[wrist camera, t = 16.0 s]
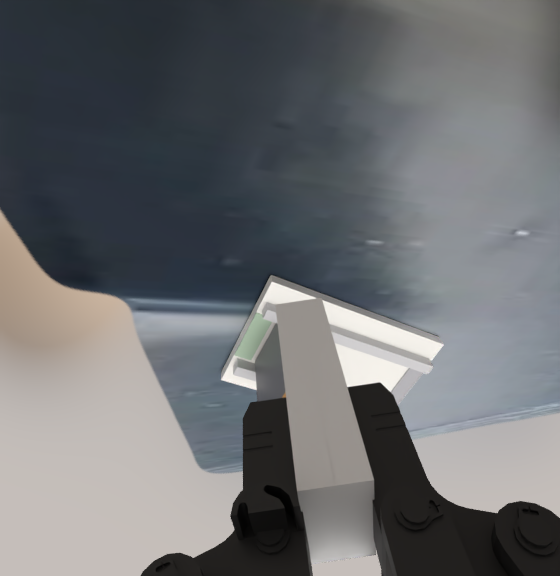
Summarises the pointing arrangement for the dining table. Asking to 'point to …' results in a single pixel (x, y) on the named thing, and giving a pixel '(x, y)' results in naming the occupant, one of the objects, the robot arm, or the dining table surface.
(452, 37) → the dining table surface
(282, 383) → the handle
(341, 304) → the railed base plate
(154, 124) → the dining table surface
